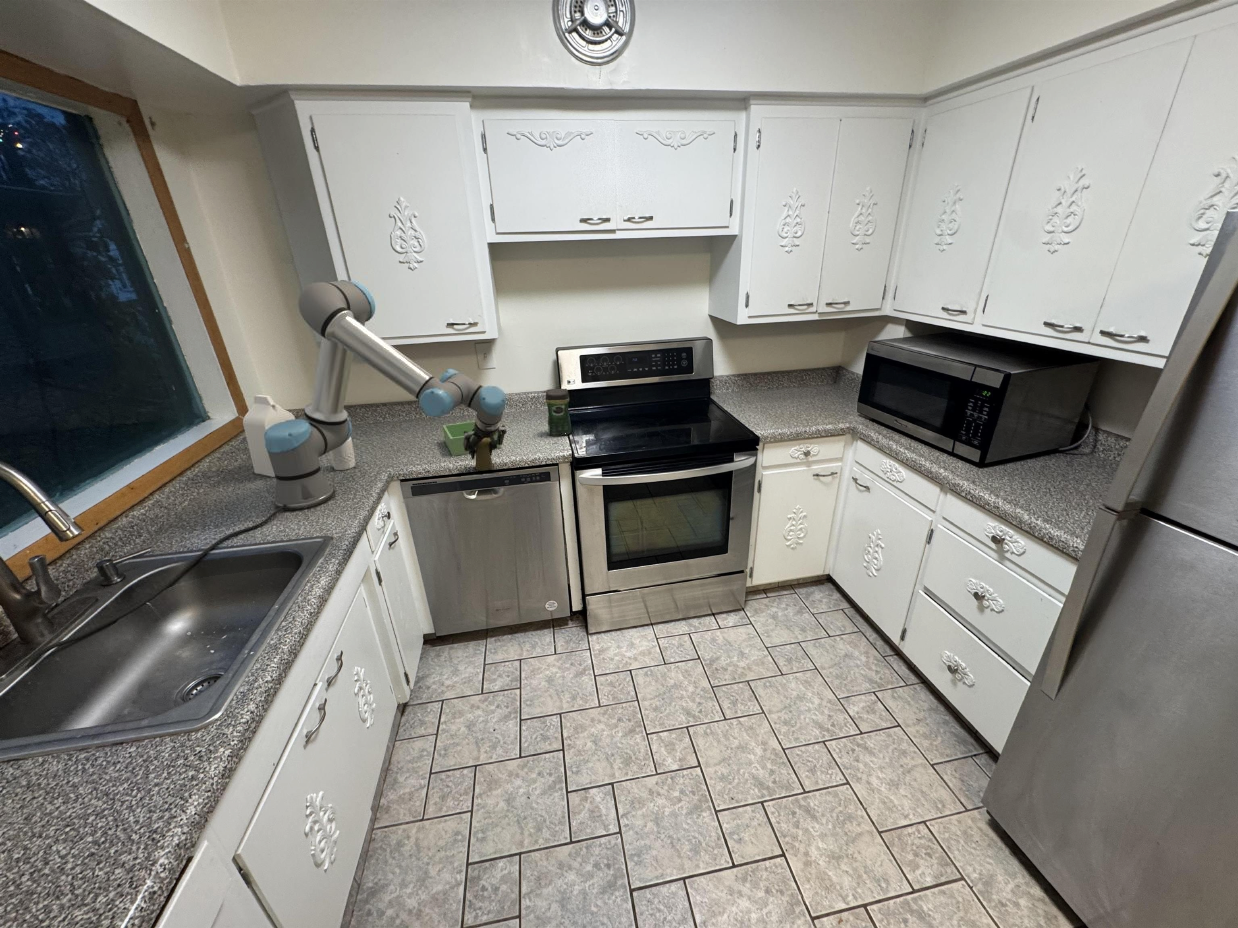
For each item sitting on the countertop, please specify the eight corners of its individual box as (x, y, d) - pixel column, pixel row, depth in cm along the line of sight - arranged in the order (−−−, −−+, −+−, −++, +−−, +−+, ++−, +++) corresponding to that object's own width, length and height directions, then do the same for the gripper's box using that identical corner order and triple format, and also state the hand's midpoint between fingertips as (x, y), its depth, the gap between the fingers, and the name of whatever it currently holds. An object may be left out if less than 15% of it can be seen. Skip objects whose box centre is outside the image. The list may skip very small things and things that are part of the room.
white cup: (352, 460, 181) (346, 434, 177) (360, 466, 175) (354, 439, 172) (329, 466, 176) (322, 439, 172) (336, 473, 170) (329, 445, 167)
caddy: (500, 448, 191) (498, 431, 189) (453, 456, 184) (450, 438, 181) (489, 434, 206) (487, 419, 203) (445, 441, 199) (442, 425, 196)
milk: (254, 472, 171) (231, 398, 161) (286, 461, 181) (266, 390, 171) (279, 477, 167) (257, 401, 157) (310, 465, 177) (291, 393, 167)
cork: (488, 471, 170) (485, 440, 166) (472, 469, 171) (468, 439, 167) (496, 464, 176) (493, 434, 172) (480, 463, 177) (476, 433, 173)
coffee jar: (571, 429, 211) (568, 386, 204) (571, 435, 204) (569, 391, 197) (547, 430, 210) (544, 387, 203) (547, 437, 203) (544, 392, 196)
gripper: (460, 437, 151) (456, 468, 170) (519, 427, 158) (509, 459, 178) (454, 415, 153) (451, 449, 173) (513, 407, 161) (503, 440, 180)
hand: (480, 454), depth 175 cm, fingers closed on cork, 5 cm apart
